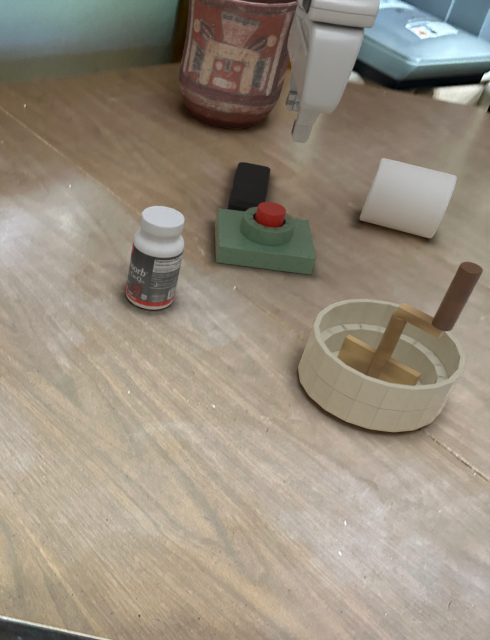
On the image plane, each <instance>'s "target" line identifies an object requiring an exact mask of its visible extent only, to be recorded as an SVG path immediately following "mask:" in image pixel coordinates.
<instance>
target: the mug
mask: <svg viewBox="0 0 490 640" xmlns="http://www.w3.org/2000/svg"><path fill="white" fill-rule="evenodd" d="M457 180H458V178H457V175H455V174H451V173H447V172H444V171H439V170H435V169H431V168H428V167H423V166H419V165H414V164H410V163H407V162H402V161H399V160H394V159H390V158H387V157H382V158H381V159H380V161H379V163H378V166H377V169H376V171H375V174H374V176H373V179H372V182H371V184H370V188H369V190H368V193H367V196H366V199H365V201H364V203H363V207H362V210H361V213H360V215H359V221H362V222H366V223H368V224H369V223H370V224H373V225H377V226H381V227H384V228H388V229H392V230H396V231H400V232H402V233H407V234H411V235H414V236H418V237H422V238H426V239H432V238H433V237H434V236H435V234H436V232H437V230H438V229H439V228H440V227H439V226H440V225H441V222H442V221H443V218H444V216H445V214H446V212H447V210H448V207H449V204H450V202H451V199H452V197H453V193H454V191H455V188H456V184H457Z"/></svg>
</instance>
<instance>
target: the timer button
mask: <svg viewBox="0 0 490 640" xmlns="http://www.w3.org/2000/svg"><path fill="white" fill-rule="evenodd" d="M286 213H287V208H286V207H285V206H283V205H282V204H280V203H277V202H273V201H265V202H262V203H260V204H259V205H258V207H257V211H256V215H255V221H256V222H257V223H258V224H261V225H263V226H266V227H273V228H276V227H281V226H282V225H283V222H284V219H285V215H286Z"/></svg>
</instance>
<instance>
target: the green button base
mask: <svg viewBox="0 0 490 640" xmlns="http://www.w3.org/2000/svg"><path fill="white" fill-rule="evenodd" d="M256 211H257V207H252V208H249V209H248V210H246V211H245V212H244V211H236V210H228V209H227V208H219V207H218V208H217V213H216V216H215V220H214V243H215V245H214V246H215V263H216V264H217V263H218V264H226V265H233V266H241V267H248V268H257V269H264V270H270V271H279V272H286V273H293V274H294V273H295V274H300V275H301V274H302V275H309V276H310V275H312V272H313V269H314V266H315V264H316V261H317V257H316V252H315V247H314V242H313V237H312V232H311V227H310V221H309V219H304V218H297V217H293V216H291V215H290V214H289V213H288V212H286V215H285V219H284V222H283V225H282V226H281V227H276V228H273V227H266V226H263V225H261V224H258V223H257V222H256V221H255V215H256Z"/></svg>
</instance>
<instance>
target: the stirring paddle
mask: <svg viewBox="0 0 490 640" xmlns="http://www.w3.org/2000/svg"><path fill="white" fill-rule="evenodd" d="M483 272H484V270H483V267H482V266H481V265H479V264H478V263H475V262H472V261H462V262H461V263H460V264H459V266H458V267H457V270H456V271H455V275H454V276H453V278H452V280H451V282H450V284H449V286H448V288H447V291H446V292H445V294H444V296H443V298H442V299H441V301H440V304H439V306H438V308H437V310H436V312H435V314H434V315H433V316H432V315H430V314H427V313H426V312H424V311H422V310H420V309H418V308H416V307H414V306H412V305H410V304H408V303H407V302H403V303H402V304H399V305H400V306H399V307H398V309H397V311H395V312H393V314H392V316H391V318H390V320H389V323H388V325H387V327H386V329H385V332H384V334H383V336H382V338H381V340H380V343H379V345H378V347H377V349H375V348H373V347H372V346H370V345H368V344H366V343H364V342H362V341H361V340H359V339H357V338H355V337H353V336H352V335H350V334H349V335H348V336H346V337H345V339H344V342H343V344H342V347H341V349H340V352H339V354H338V357H337V358H339V359H340V360H341V361H342V362H343V363H345V364H346V365H347V366H349V367H351V368H353V369H355V370H357V371H359V372H361V373H363V374H365V375H366V376H370V377H373V378H376V379H379V380H382V381H385V382H389V383H395V384H402V385H410V386H416V384H417V382H418V380H419V378H420V376H421V374H420V373H419V372H417V371H415V370H413V369H411V368H410V367H408V366H406V365H404V364H402V363H401V362H399V361H397V360H395V359H393V358H391V355H392V353H393V351H394V349H395V347H396V345H397V343H398V340H399V338H400V336H401V334H402V332H403V330H404V328H405V326H406V323H407V322H408V323H410V324H412V325H414V326H416V327H418V328H420V329H422V330H423V331H425V332H427V333H429V334H431V335H433V336H435V337H437V338H439V337H441V336H442V335H443V334H444V333H445V331H450V332H451V331H453V330H454V327H455V325H456V324H457V322H458V319H459V318H460V316H461V314H462V312H463V310H464V308H465V307H466V305H467V303H468V300H469V299H470V297H471V295H472V293H473V291H474V290H475V287H476V286H477V284H478V282H479V279H480V277H481V276H482V274H483Z"/></svg>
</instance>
